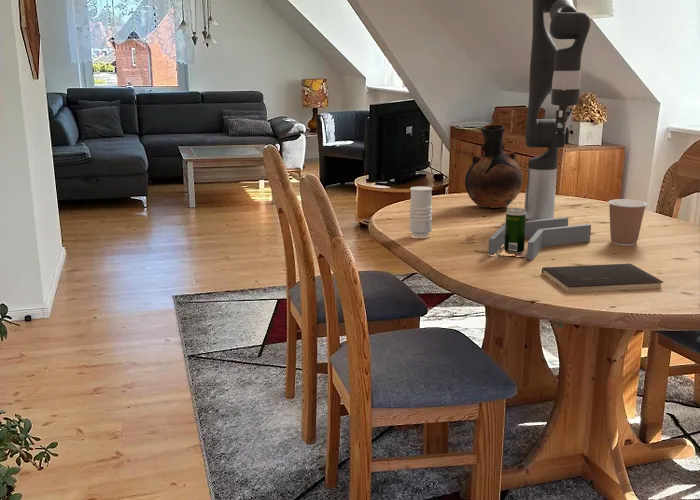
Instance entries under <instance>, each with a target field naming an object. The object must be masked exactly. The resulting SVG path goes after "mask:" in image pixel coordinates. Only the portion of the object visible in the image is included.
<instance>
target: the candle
mask: <svg viewBox="0 0 700 500" xmlns="http://www.w3.org/2000/svg"><path fill="white" fill-rule="evenodd" d="M409 190H410V206H409V217H408V218H409V232H412V233H411V235H412V236H414V237H427V236H429V235H430V233H431V232H432V231H433V229H432V220H433V206H432V193H433V192H432V191H433V187H431V186H411V187H410V188H409Z"/></svg>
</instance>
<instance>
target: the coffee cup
mask: <svg viewBox="0 0 700 500" xmlns="http://www.w3.org/2000/svg"><path fill="white" fill-rule="evenodd" d="M608 204H609V228H610V229H609V231H610V232H609V233H610V241H611V243H612V244H614V245H617V246H623V247H625V246H627V247H629V246H634V245H636V244H637V242H638V240H639V236H640V232H641V229H642V228H641V227H642V222H643V218H644V213H645V209H646V206H647V202H645V201H643V200H642V201H641V200H638V199H628V198H627V199H626V198H623V199H622V198H619V199H618V198H617V199H611V200H608Z"/></svg>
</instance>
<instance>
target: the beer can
mask: <svg viewBox="0 0 700 500" xmlns="http://www.w3.org/2000/svg"><path fill="white" fill-rule="evenodd" d="M526 221H527V219H526V212H525V208H519V207H511V208H506V212H505V222H504V223H505V243H504V246H503V249H504V250H505V252H506V253H508V254H514V255H517V254H522V253H523V251H524V250H525V241H526V240H525V225H526Z"/></svg>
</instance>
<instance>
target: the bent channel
mask: <svg viewBox="0 0 700 500" xmlns="http://www.w3.org/2000/svg"><path fill="white" fill-rule="evenodd" d="M501 224H502V225H501V227H499V228H498V229H497V230H496V231H495V232H494V233H493V234H491V236H490V237H488V249H487V251H488V253H487V254H489V255H494V254H495V253H496V252H497V251H498V250H499V249H500V248H501V246H502V245H503V244H504V243H505V222H504V223H501ZM591 229H592V225H591V224H589V223H584V224H576V225H575V224H574V225H569V217H566V216H564V217H563V216H561V217H555V218H551V219H541V220H526V225H525V238H526V239H529V240H528V241H527V249H526V250H527V255H526V260H527V259H529V260H528V261H532V260H533V261H534V259H535V258H536V257H537V255H538V254H539V253H538V252H540V251H541V250H542V249H543V248H546V247H545V246H547V247H554V246H555V247H556V246H563V245H572V244H580V243H581V244H582V243H588V242H591V234H592V233H591V232H592V230H591ZM530 237H532V238H530ZM541 248H542V249H541ZM501 249H502V248H501ZM501 249H500V250H501ZM540 249H541V250H540ZM535 256H536V257H535ZM534 257H535V258H534Z"/></svg>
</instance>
